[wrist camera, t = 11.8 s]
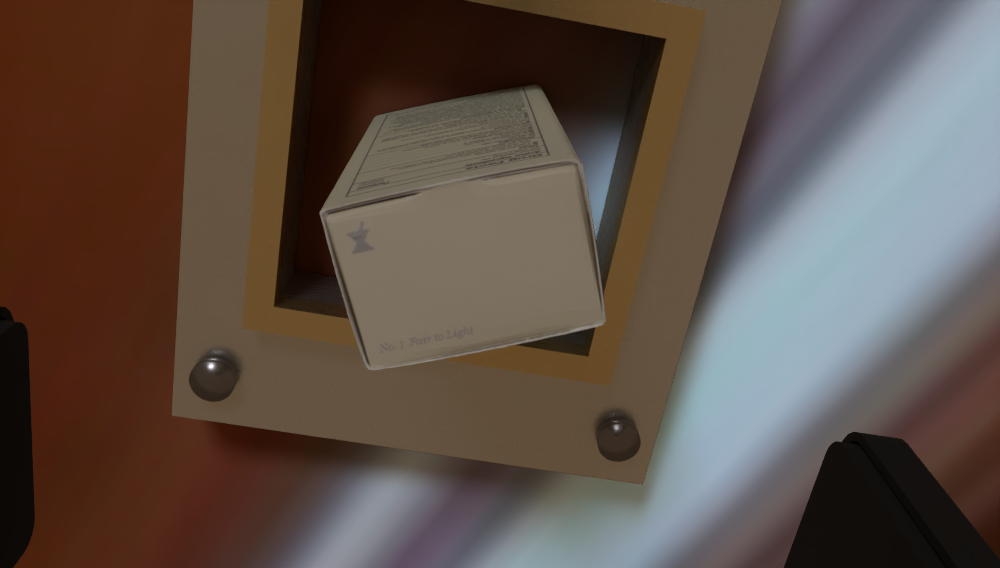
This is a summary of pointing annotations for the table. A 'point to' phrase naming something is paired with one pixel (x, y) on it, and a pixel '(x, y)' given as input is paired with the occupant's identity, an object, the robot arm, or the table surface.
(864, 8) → the table surface
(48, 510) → the table surface
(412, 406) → the picture frame
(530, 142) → the skincare box
